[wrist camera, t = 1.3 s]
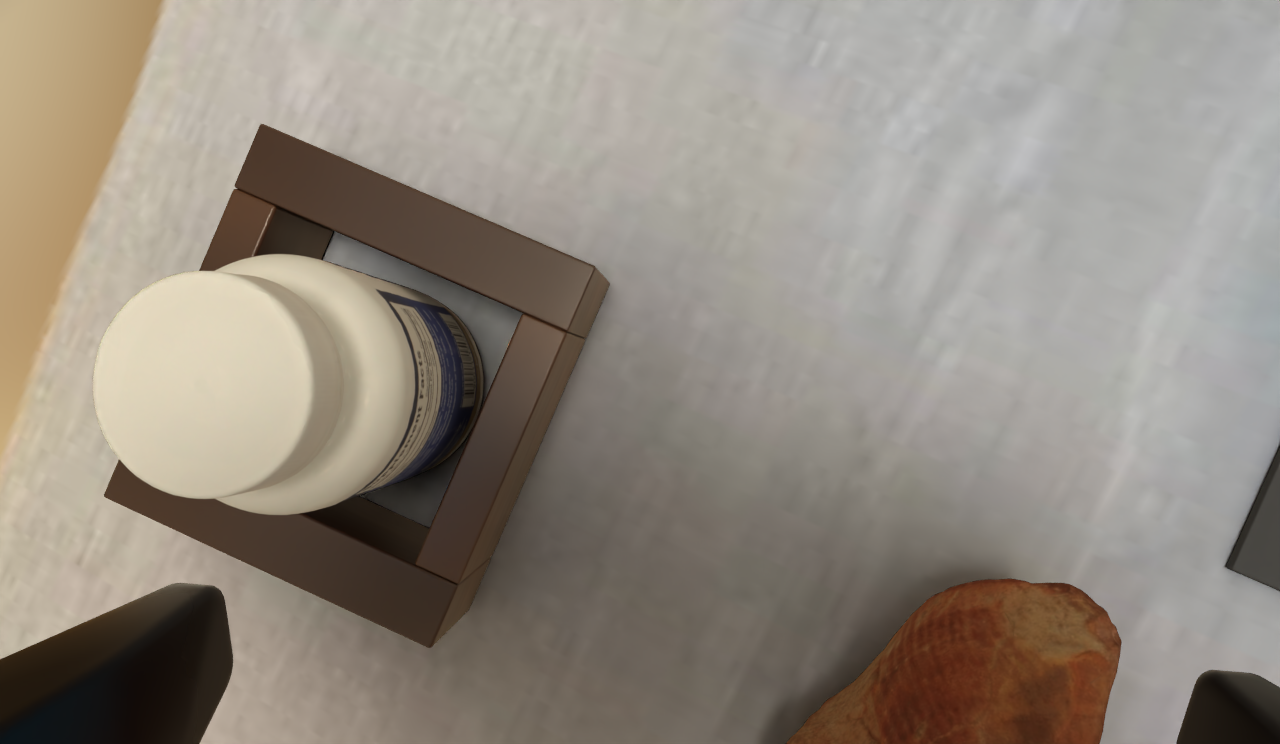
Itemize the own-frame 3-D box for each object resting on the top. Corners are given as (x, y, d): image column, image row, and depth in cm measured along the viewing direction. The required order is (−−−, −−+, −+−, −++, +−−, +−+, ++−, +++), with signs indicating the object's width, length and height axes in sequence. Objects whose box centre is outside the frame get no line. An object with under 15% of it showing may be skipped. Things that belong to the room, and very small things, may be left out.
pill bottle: (267, 419, 25) (-4, 444, 15) (358, 253, 25) (142, 173, 15) (429, 514, 25) (256, 600, 15) (523, 346, 25) (409, 325, 15)
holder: (468, 612, 25) (430, 650, 21) (183, 480, 25) (101, 497, 22) (610, 282, 25) (596, 266, 21) (321, 158, 25) (259, 122, 22)
